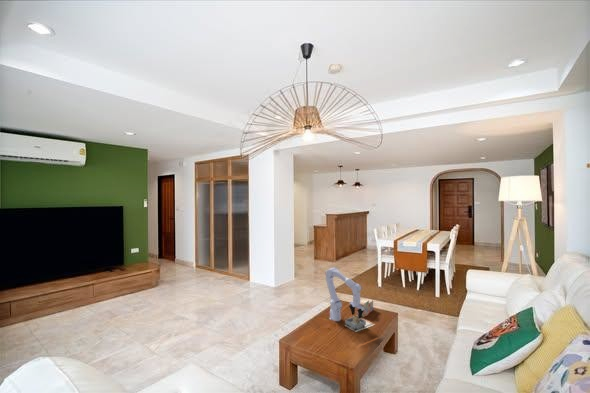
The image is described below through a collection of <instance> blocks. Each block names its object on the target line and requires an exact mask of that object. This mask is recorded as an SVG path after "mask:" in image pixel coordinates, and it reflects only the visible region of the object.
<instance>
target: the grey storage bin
mask: <svg viewBox="0 0 590 393" xmlns="http://www.w3.org/2000/svg"><path fill="white" fill-rule="evenodd" d="M363 319H364V318H362V317H361V318H360V323H358V324H355V323H354V322H353V316H352V317H349V318H346V319H345V320H344V323H345V325H347V326H348V325H349V326H351V327H353V328H354V330H356V329H357V328H358V327H361V326H363V327H364V326H365V325H366V321H365V320H363Z"/></svg>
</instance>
